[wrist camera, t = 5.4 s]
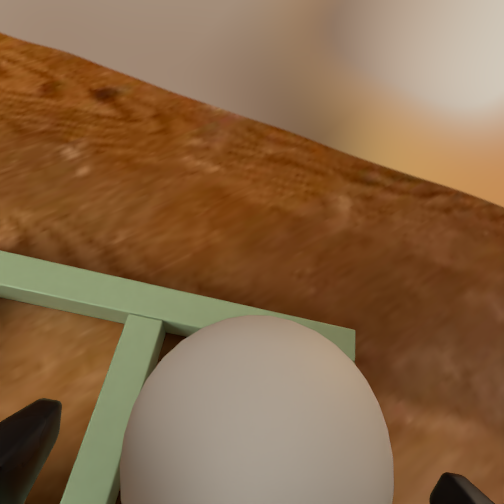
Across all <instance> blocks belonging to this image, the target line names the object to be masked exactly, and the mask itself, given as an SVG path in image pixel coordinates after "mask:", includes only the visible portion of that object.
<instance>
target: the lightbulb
mask: <svg viewBox="0 0 504 504" xmlns="http://www.w3.org/2000/svg"><path fill="white" fill-rule="evenodd" d="M120 488H121V503H122V504H392V500H393V492H394V474H393V455H392V450H391V444H390V439H389V434H388V429H387V426H386V423H385V420H384V417H383V414H382V411H381V408H380V406H379V403H378V401H377V399H376V397H375V395H374V393H373V391H372V390H371V388H370V386H369V384H368V382H367V380H366V379H365V377H364V376H363V375H362V373H361V372H360V371H359V369H358V368H357V367H356V365H355V364H354V363H353V361H352V360H351V359H350V358H349V357H348V356H347V355H346V354H345V353H344V352H343V351H342V350H341V349H340V348H338V347H337V346H336V345H335V344H334V343H333V342H331V341H330V340H328V339H327V338H325V337H324V336H322V335H321V334H319V333H318V332H316V331H314V330H312V329H310V328H308V327H305V326H303V325H301V324H298V323H296V322H294V321H291V320H287V319H283V318H278V317H274V316H265V315H245V316H239V317H234V318H228V319H224V320H222V321H219V322H216V323H214V324H211V325H209V326H206V327H204V328H202V329H200V330H198V331H197V332H195V333H193V334H192V335H190V336H189V337H187V338H185V339H184V340H182V341H181V342H180V343H179V344H178V345H177V346H175V347H174V348H173V349H172V350H171V351H170V352H169V353H168V354H167V355H166V356H165V357H163V359H162V360H161V361H160V363H159V364H158V365H157V366H156V368H155V369H154V370H153V372H152V373H151V374H150V376H149V377H148V378H147V380H146V382H145V384H144V385H143V387H142V389H141V391H140V393H139V395H138V397H137V399H136V401H135V403H134V405H133V408H132V411H131V414H130V417H129V420H128V424H127V427H126V430H125V433H124V438H123V446H122V453H121V460H120Z"/></svg>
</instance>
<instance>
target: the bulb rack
mask: <svg viewBox="0 0 504 504" xmlns="http://www.w3.org/2000/svg"><path fill="white" fill-rule="evenodd" d="M0 297H1V298H6V299H10V300H15V301H20V302H25V303H29V304H34V305H39V306H43V307H48V308H53V309H58V310H62V311H67V312H72V313H76V314H81V315H86V316H90V317H95V318H100V319H105V320H109V321H114V322H119V323H123V324H125V325H124V328H123V331H122V334H121V336H120V339H119V342H118V345H117V348H116V350H115V353H114V356H113V359H112V361H111V364H110V367H109V370H108V372H107V375H106V378H105V381H104V383H103V386H102V389H101V392H100V394H99V397H98V400H97V403H96V405H95V408H94V411H93V414H92V417H91V419H90V422H89V425H88V428H87V430H86V433H85V436H84V439H83V441H82V444H81V447H80V450H79V452H78V455H77V458H76V461H75V463H74V466H73V469H72V472H71V474H70V477H69V480H68V483H67V485H66V488H65V491H64V494H63V497H62V499H61V502H60V504H115V503H116V500H117V496H118V493H119V489H120V460H121V453H122V446H123V438H124V433H125V430H126V427H127V424H128V420H129V417H130V414H131V411H132V408H133V405H134V403H135V401H136V399H137V397H138V395H139V393H140V391H141V389H142V387H143V385H144V384H145V382H146V380H147V378H148V377H149V376H150V374H151V373H152V372H153V370H154V369H155V368H156V365H157V361H158V358H159V355H160V351H161V348H162V345H163V341H164V338H165V334H166V333H171V334H175V335H180V336H185V337H189V336H190V335H192V334H193V333H195V332H197V331H198V330H200V329H202V328H204V327H206V326H209V325H211V324H214V323H216V322H219V321H222V320H224V319H228V318H234V317H239V316H245V315H265V316H274V317H278V318H283V319H287V320H291V321H294V322H296V323H298V324H301V325H303V326H305V327H308V328H310V329H312V330H314V331H316V332H318V333H319V334H321V335H322V336H324V337H325V338H327V339H328V340H330V341H331V342H333V343H334V344H335V345H336V346H337V347H338V348H340V349H341V350H342V351H343V352H344V353H345V354H346V355H347V356H348V357H349V358H350V359H351V360H352V361H353V363H354V364H355V362H354V361H355V330H353V329H348V328H344V327H339V326H335V325H330V324H326V323H321V322H317V321H312V320H308V319H304V318H299V317H295V316H290V315H286V314H281V313H277V312H272V311H268V310H263V309H259V308H255V307H250V306H246V305H241V304H237V303H232V302H228V301H223V300H219V299H214V298H210V297H206V296H201V295H197V294H192V293H188V292H183V291H179V290H174V289H170V288H165V287H161V286H157V285H152V284H148V283H143V282H139V281H134V280H130V279H125V278H121V277H116V276H112V275H108V274H103V273H99V272H94V271H90V270H85V269H81V268H76V267H72V266H67V265H63V264H58V263H54V262H50V261H45V260H41V259H36V258H32V257H27V256H23V255H18V254H14V253H9V252H5V251H1V250H0ZM165 332H166V333H165Z"/></svg>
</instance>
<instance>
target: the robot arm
mask: <svg viewBox="0 0 504 504" xmlns="http://www.w3.org/2000/svg"><path fill="white" fill-rule="evenodd" d="M61 409H62V405H61V402H60V401H57V400H51V399H46V398H42V399H39V400H37V401H35V402H33V403H32V404H30V405H28V406H26V407H25V408H23V409H21V410H20V411H18V412H16V413H15V414H13V415H11V416H10V417H8V418H6V419H5V420H3V421H1V422H0V504H23V503H24V502H25V500H26V498H27V496H28V494H29V492H30V490H31V488H32V486H33V484H34V482H35V480H36V479H37V477H38V475H39V473H40V471H41V469H42V467H43V465H44V463H45V461H46V459H47V457H48V455H49V454H50V452H51V450H52V448H53V446H54V444H55V442H56V440H57V437H58V434H59V430H60V420H61ZM430 504H495V503H493V502H492V501H491V500H490V499H489V498H488V497H487V496H486V495H484V494H483V493H482V492H481V491H480V490H479V489H478V488H477V487H476V486H474V485H473V484H472V483H471V482H470V481H469V480H468V479H467V478H465V477H464V476H462V475H459V474H454V473H449V472H446V473H443V474H442V476H441V477H440V479H439V481H438V482H437V484H436V486H435V487H434V489H433V491H432V493H431V495H430Z"/></svg>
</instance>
